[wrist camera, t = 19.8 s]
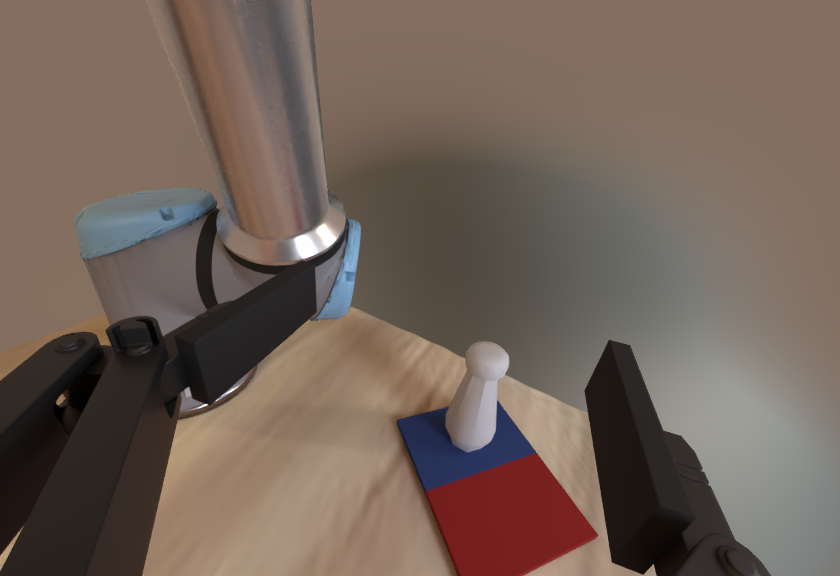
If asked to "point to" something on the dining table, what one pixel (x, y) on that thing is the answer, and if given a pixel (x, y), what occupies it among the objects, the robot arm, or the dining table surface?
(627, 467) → the robot arm
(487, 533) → the sorting mat
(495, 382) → the salt shaker
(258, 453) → the dining table surface
